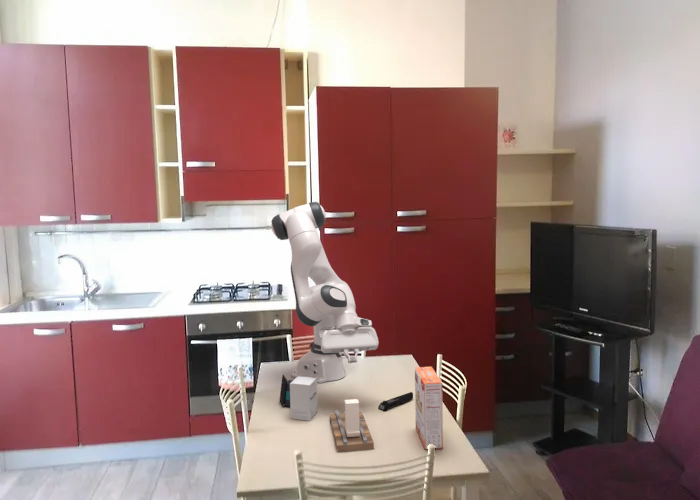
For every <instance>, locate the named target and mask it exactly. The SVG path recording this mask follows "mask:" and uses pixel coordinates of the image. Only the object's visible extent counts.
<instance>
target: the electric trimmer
mask: <svg viewBox="0 0 700 500" xmlns="http://www.w3.org/2000/svg"><path fill="white" fill-rule="evenodd" d="M413 398H414V393H413V392H412V391H410V392H407V393H404V394H402V395H398V396H396V397H393V398H390V399H388V400H383V401H382V402H380V403H379V405H378V410H379V411H381V412H387V411H388V410H390V409H391V408H394V407H396V406H399V405H403V404H405V403H407V402H409V401H411V400H413Z"/></svg>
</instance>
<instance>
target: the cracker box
mask: <svg viewBox="0 0 700 500" xmlns="http://www.w3.org/2000/svg"><path fill="white" fill-rule="evenodd" d="M414 387H415V389H414V391H415V392H414V393H415V394H414V395H415V397H414V399H415V402H414V403H415V404H414V405H415V406H414V407H415V429H416V431H417V435H418V437H419V439H420V441H421V444H422V447H423V449H424V450H425V451H426V450H428V449H427V446H428V445H429V444H433V445H435V446H436V449H435V450H437V449H439V450H440V449H441V450H442V449H443V447H444V441H443V440H444V439H443V437H444V436H443V435H444V434H443V433H444V431H443V430H444V428H443V423H444V422H443V417H444V415H443V412H444V411H443V382H442V380H441V379H440V377H439V375H438V374H437V373H436V371H435V370H434V368H433V366H416V367H414Z"/></svg>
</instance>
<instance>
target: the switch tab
mask: <svg viewBox="0 0 700 500" xmlns="http://www.w3.org/2000/svg"><path fill="white" fill-rule="evenodd" d="M359 412H360V402H359V399H358V398H353V399H352V398H351V399H344V413H345V432H346V435H347V437H356V436H360V430H359Z"/></svg>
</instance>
